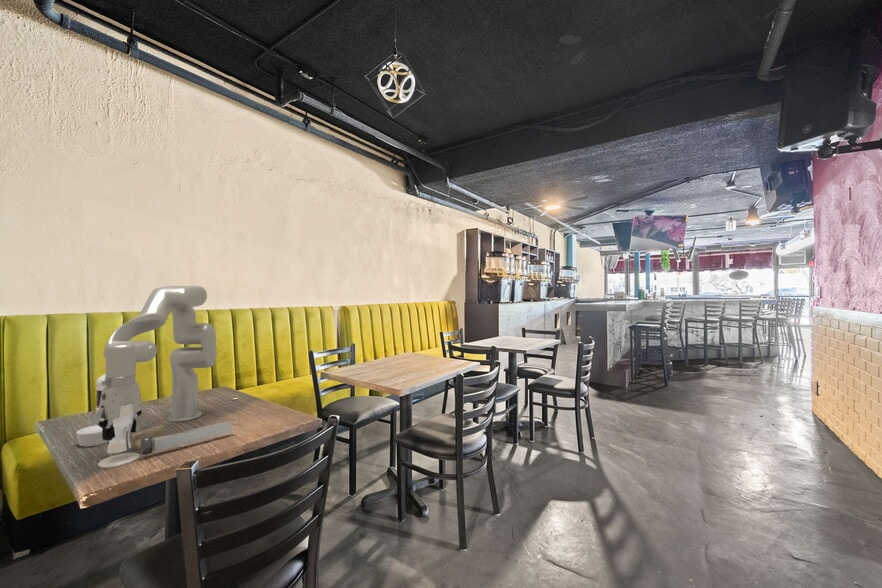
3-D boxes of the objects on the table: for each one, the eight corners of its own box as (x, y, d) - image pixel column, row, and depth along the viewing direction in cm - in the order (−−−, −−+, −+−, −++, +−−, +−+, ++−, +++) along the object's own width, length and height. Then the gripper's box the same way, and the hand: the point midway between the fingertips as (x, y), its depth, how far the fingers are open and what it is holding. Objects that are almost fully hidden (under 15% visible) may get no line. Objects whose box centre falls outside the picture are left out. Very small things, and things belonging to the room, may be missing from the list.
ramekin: (124, 436, 141) (125, 422, 141) (103, 447, 130) (103, 432, 130) (92, 437, 139) (92, 424, 139) (67, 449, 128) (67, 434, 128)
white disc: (90, 465, 115) (90, 464, 115) (124, 453, 125) (124, 451, 125) (114, 469, 113) (114, 467, 113) (146, 456, 123) (146, 454, 123)
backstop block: (132, 448, 129) (132, 434, 129) (157, 439, 137) (157, 425, 137) (138, 449, 128) (139, 435, 128) (163, 439, 137) (163, 426, 137)
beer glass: (116, 445, 122) (117, 401, 122) (138, 445, 123) (139, 400, 123) (99, 454, 115) (100, 407, 115) (122, 453, 116) (123, 406, 116)
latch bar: (139, 453, 121) (140, 438, 121) (229, 430, 142) (229, 417, 142) (141, 455, 119) (142, 440, 119) (232, 432, 140) (232, 419, 140)
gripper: (98, 388, 110) (97, 447, 110) (155, 376, 127) (155, 427, 126) (80, 386, 112) (79, 445, 111) (139, 375, 129) (138, 426, 128)
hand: (119, 435), depth 119 cm, fingers closed on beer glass, 6 cm apart
